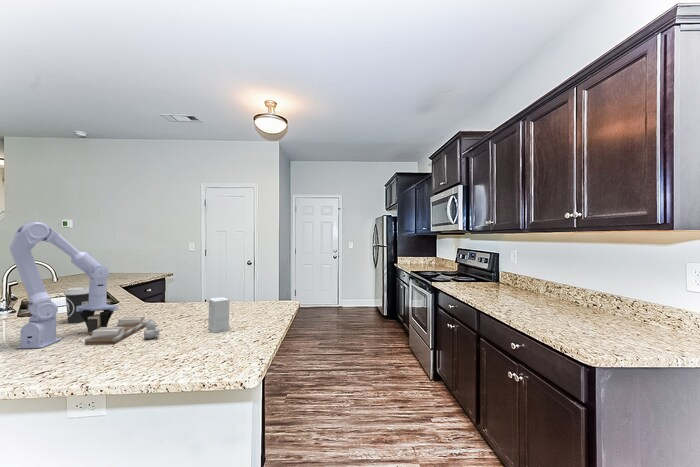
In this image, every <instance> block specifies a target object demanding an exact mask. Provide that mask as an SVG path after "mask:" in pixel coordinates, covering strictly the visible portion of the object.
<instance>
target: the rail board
mask: <svg viewBox="0 0 700 467" xmlns="http://www.w3.org/2000/svg"><path fill="white" fill-rule="evenodd" d="M148 321H150V319H148V320H146V316H144V315H143V316H142V315H141V316H137V315H136V316H123V317H121V318H119V319H118V320H117V324H115V325H112V326H107V327H101V328H99V329H96V330H94V331H92V335H91V336H90V337H87V338H85V339H84V345H85V346H94V345H96V346H98V345H116V344H118V343H120V342H121V341H123V340H125V339H127V338H128V337H130V336H132V335H133V334H136V333H137V332H140V331H141V330H143V329H144V328H146V325H147V323H148Z"/></svg>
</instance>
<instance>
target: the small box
mask: <svg viewBox="0 0 700 467" xmlns="http://www.w3.org/2000/svg"><path fill="white" fill-rule="evenodd" d="M207 322H208V324H207V325H208V326H207V329H208V330H210V332H212V333H222V332H227V331H230V299H228V298H226V297H224V296H221V297H218V296H217V297H211V298H208V321H207Z"/></svg>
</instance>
